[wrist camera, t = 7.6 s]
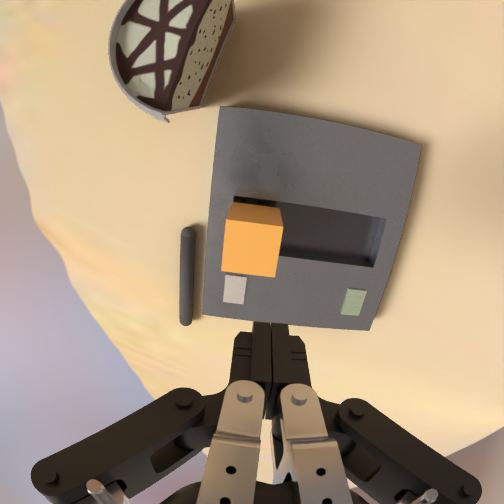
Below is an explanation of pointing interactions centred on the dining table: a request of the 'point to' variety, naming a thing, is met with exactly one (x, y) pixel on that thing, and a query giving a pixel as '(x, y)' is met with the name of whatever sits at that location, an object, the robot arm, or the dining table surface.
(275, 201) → the panel
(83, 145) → the dining table surface
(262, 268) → the lever
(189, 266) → the grey rod
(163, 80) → the food container
